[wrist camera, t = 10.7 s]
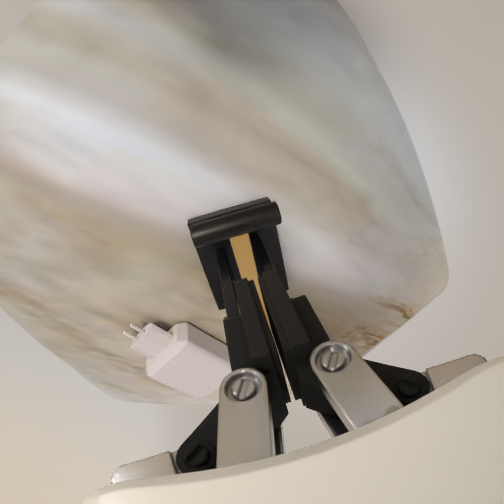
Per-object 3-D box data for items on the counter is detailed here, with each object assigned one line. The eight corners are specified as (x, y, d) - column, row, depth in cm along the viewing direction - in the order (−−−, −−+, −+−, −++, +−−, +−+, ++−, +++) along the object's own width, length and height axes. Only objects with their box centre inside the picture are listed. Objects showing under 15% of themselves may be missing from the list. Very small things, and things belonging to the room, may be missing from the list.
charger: (148, 294, 35) (235, 347, 41) (113, 334, 37) (196, 378, 43) (144, 319, 31) (240, 371, 37) (107, 359, 33) (197, 402, 39)
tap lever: (187, 215, 17) (191, 244, 15) (270, 191, 17) (284, 217, 15) (232, 319, 27) (238, 342, 25) (284, 303, 27) (292, 325, 25)
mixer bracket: (187, 219, 31) (185, 287, 20) (267, 196, 32) (308, 251, 21) (218, 304, 37) (231, 384, 26) (286, 284, 38) (321, 357, 27)
